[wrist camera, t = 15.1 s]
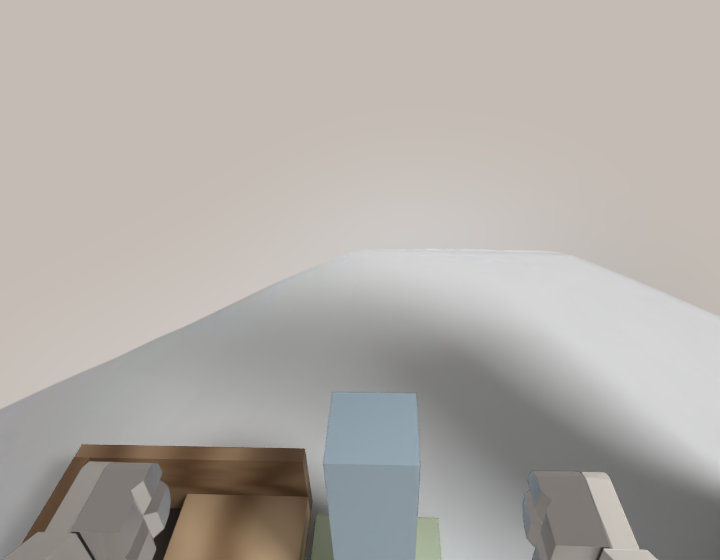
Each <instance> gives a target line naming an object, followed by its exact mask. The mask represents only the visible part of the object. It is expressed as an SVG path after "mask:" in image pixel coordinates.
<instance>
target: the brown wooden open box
mask: <svg viewBox="0 0 720 560" xmlns="http://www.w3.org/2000/svg"><path fill="white" fill-rule="evenodd" d="M89 461H94V462H123V463H152V464H159V466H160V468H161V471H162V476H161V478H160V480H161V481H162V482H164V483H165V484H166V485H168V488H169V491H170V497H171V504H170V511H169V516H168V519H167V522H166V525H165V527H164V529H163V530H162V531H161V532H160V533H159V534H158V535H156V536H155V537H154V538H153V539H154V542H155V546H156V551H155V554H154V556H153V559H152V560H304V559H305V552H306V544H307V537H308V530H309V522H310V515H311V507H312V496H311V489H310V482H309V475H308V468H307V461H306V454H305V449H298V448H245V447H191V446H138V445H84V444H82V445H81V447H80V449H79V450H78V452H77V454H76V455H75V457H74V459H73V460H72V462H71V464H70V465H69V467H68V469H67V470H66V472H65V473H64V475H63V477H62V478H61V480H60V482H59V483H58V485H57V487H56V488H55V490H54V492H53V493H52V495H51V497H50V498H49V500H48V502H47V503H46V505H45V506H44V508H43V510H42V511H41V513H40V515H39V516H38V518H37V520H36V521H35V523H34V525H33V526H32V528H31V530H30V531H29V533H28V535H27V536H26V538H25V539H24V541H23V543H24V542H25V541H27V540H28V539H29V538H31V537H32V536H33V535H34V534H36V533H37V532H45V530H46V528H47V527H48V525H49V523H50V521H51V520H52V518H53V516H54V515H55V513H56V511H57V510H58V508H59V506H60V504H61V503H62V501H63V499H64V498H65V496H66V494H67V492H68V491H69V489H70V487H71V486H72V484H73V482H74V480H75V479H76V477H77V475H78V474H79V472H80V470H81V469H82V467H84V466H85V465H86V464H87V463H88V462H89ZM23 543H22V544H23ZM22 544H21V545H22Z"/></svg>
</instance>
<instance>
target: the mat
mask: <svg viewBox="0 0 720 560" xmlns="http://www.w3.org/2000/svg"><path fill="white" fill-rule="evenodd" d="M311 560H334V554H333V546H332V537H331V528H330V520H329V515H316V521H315V529H314V537H313V545H312V553H311ZM415 560H442V559H441V547H440V535H439V523H438V518H428V517H418V518H417V537H416V555H415Z"/></svg>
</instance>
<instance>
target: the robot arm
mask: <svg viewBox="0 0 720 560" xmlns="http://www.w3.org/2000/svg"><path fill="white" fill-rule="evenodd" d="M161 476H162V471H161V468H160V466H159V464H152V463H123V462H94V461H89V462H88V463H87V464H86V465H85V466H84V467H82V469H81V470H80V472H79V474H78V475H77V477H76V479H75V480H74V482H73V484H72V486H71V487H70V489H69V491H68V492H67V494H66V496H65V498H64V499H63V501H62V503H61V504H60V506H59V508H58V510H57V511H56V513H55V515H54V516H53V518H52V520H51V521H50V523H49V525H48V527H47V528H46V530H45V532H37V533H36V534H34V535H33V536H32V537H31V538H29V539H28V540H27V541H25V542H24V543H23V544H22V545H20V546H19V547H18V548H16V549H15V550H14V551H13V552H11V553H10V554H9V555H7V556H6V557H5V558H4V559H2V560H152V559H153V556H154V554H155V551H156V546H155V542H154V539H153V538H154V537H155V536H156V535H158V534H159V533H160V532H161V531H162V530H163V529H164V527H165V525H166V522H167V519H168V516H169V511H170V504H171V497H170V491H169V488H168V485H166V484H165V483H164V482H162V481H161V480H160V478H161ZM528 484H529V488H530V490H529V491H528V492H526V493H525V495H524V500H523V521H524V528H525V532H526V537H527V539H528V541H529V542H530V543H531V544H532V545H533V546H534V547H535V551H534V554H533V558H532V560H658V559H657V558H656V557H655V556H653V555H652V554H651V553H650V552H649V551H648V550H643V549H639V546H638V544H637V542H636V539H635V537H634V534H633V532H632V530H631V527H630V525H629V522H628V520H627V518H626V515H625V513H624V511H623V508H622V506H621V503H620V501H619V499H618V496H617V494H616V491H615V489H614V487H613V484H612V482H611V479H610V477H609V476H608V475H607V474H606V473H604V472H579V471H532V472H531V473H530V475H529V479H528Z"/></svg>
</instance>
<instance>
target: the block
mask: <svg viewBox="0 0 720 560" xmlns="http://www.w3.org/2000/svg"><path fill="white" fill-rule="evenodd" d="M323 467H324V476H325V485H326V494H327V502H328V511H329V520H330V528H331V537H332V546H333V554H334V560H415V555H416V537H417V518H418V500H419V481H420V451H419V433H418V414H417V396H416V393H372V392H332V398H331V406H330V414H329V421H328V429H327V437H326V445H325V452H324V460H323Z"/></svg>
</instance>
